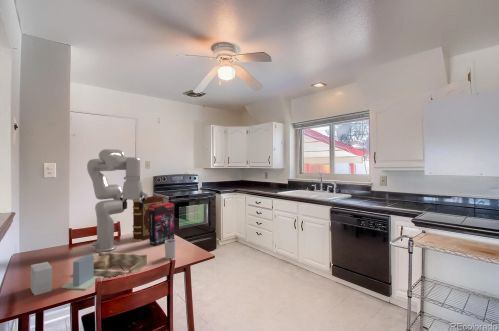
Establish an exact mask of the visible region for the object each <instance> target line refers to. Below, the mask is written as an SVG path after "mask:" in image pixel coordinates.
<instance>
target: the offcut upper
mask: <svg viewBox="0 0 499 331" xmlns="http://www.w3.org/2000/svg"><path fill="white" fill-rule="evenodd" d="M108 262H109V255H107V256H99V255H97V256H96V257H95V258H94V268H96V267H105V266H106V265H107V263H108Z"/></svg>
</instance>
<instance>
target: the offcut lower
mask: <svg viewBox="0 0 499 331" xmlns="http://www.w3.org/2000/svg"><path fill="white" fill-rule="evenodd" d="M112 266H113V264H112V261H109V262H108V263H107V265H106V266H105V267H96V268H94V269H99V270H109V269H110V268H111V267H112Z"/></svg>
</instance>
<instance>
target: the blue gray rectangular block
mask: <svg viewBox="0 0 499 331" xmlns="http://www.w3.org/2000/svg"><path fill="white" fill-rule="evenodd" d="M94 259H95V258H94V254H86V255H84V256H82V257H80V258H78V259H76V260H74V261H73V262H72V268H73V269H72V281H73V286H80V285H82V284H84V283H85V282H87V281H89V280H90V279H92V278H93V277H94V276H95V275H94Z"/></svg>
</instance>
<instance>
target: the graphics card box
mask: <svg viewBox="0 0 499 331" xmlns="http://www.w3.org/2000/svg"><path fill="white" fill-rule="evenodd" d="M174 208H175V205H174V203H173V202H163V204H156V205H150V206H149V235H150V238H149V245H151V246H155V247H156V246H158V245H163V244H165V240H169V239H175V215H174V214H175V212H174V211H175V209H174Z"/></svg>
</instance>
